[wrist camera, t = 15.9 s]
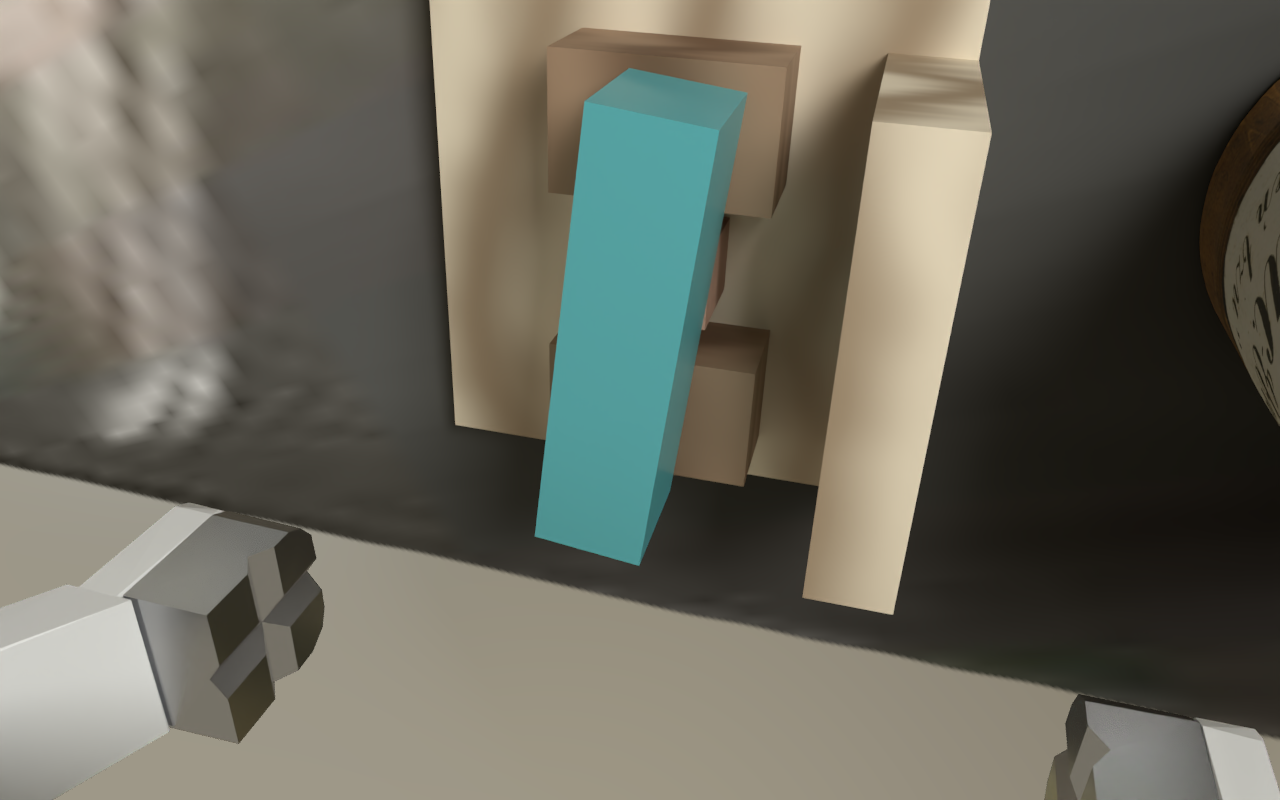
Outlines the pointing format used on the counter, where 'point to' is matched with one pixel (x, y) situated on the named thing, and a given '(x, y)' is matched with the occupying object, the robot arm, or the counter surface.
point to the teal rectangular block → (633, 304)
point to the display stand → (737, 234)
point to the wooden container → (1248, 244)
